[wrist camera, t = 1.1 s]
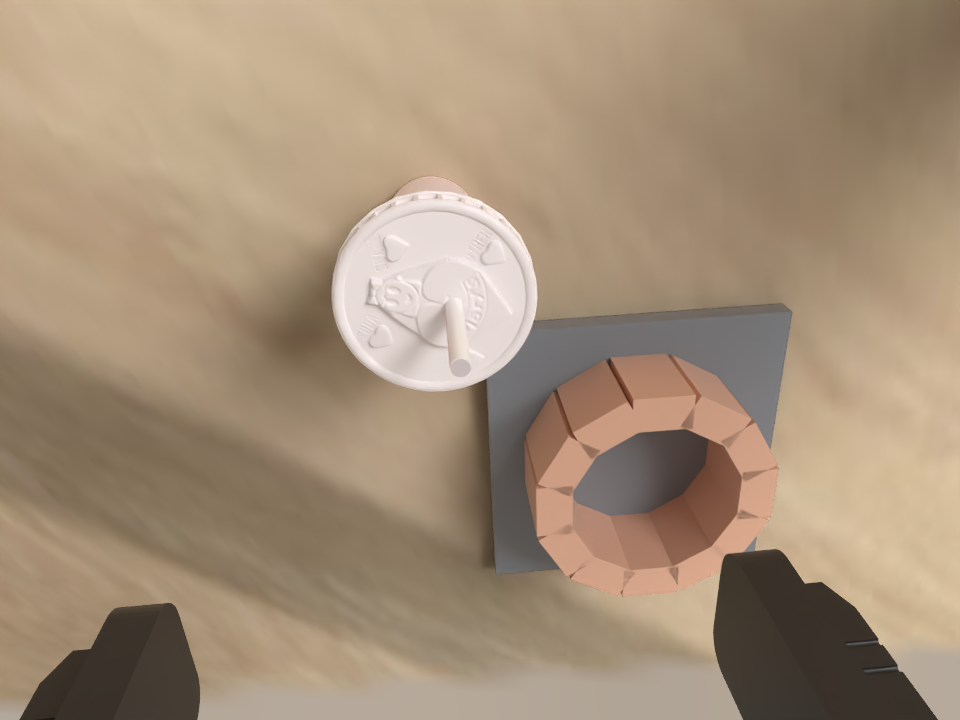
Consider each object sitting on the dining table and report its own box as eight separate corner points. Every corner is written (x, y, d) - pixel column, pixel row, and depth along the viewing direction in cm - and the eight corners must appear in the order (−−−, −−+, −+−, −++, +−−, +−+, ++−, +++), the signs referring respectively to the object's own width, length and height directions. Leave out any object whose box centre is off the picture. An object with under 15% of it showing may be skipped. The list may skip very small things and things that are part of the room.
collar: (782, 303, 33) (838, 348, 29) (746, 539, 40) (788, 607, 35) (483, 324, 33) (493, 374, 28) (494, 561, 39) (504, 633, 34)
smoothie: (490, 301, 32) (534, 484, 20) (347, 278, 31) (297, 456, 19) (520, 158, 30) (593, 264, 17) (365, 128, 29) (321, 218, 16)
